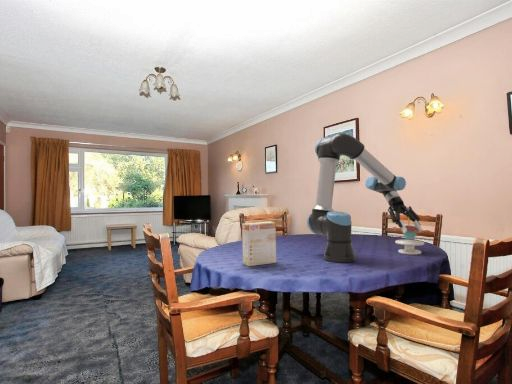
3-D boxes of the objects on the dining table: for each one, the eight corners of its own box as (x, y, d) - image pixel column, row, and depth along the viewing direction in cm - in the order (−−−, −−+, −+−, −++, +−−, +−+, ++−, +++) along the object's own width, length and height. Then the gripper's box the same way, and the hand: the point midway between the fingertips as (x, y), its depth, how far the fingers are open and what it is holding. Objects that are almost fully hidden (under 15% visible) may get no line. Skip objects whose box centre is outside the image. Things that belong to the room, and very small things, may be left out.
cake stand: (396, 254, 160) (396, 243, 160) (394, 249, 173) (394, 239, 173) (426, 256, 154) (426, 244, 154) (422, 251, 167) (422, 240, 168)
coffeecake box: (269, 260, 150) (269, 221, 151) (276, 263, 144) (276, 222, 144) (242, 263, 144) (241, 222, 144) (248, 266, 138) (247, 224, 138)
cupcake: (417, 240, 158) (417, 217, 158) (399, 238, 162) (399, 216, 162) (418, 237, 165) (418, 216, 165) (401, 236, 170) (401, 215, 170)
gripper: (407, 204, 180) (427, 235, 164) (375, 205, 177) (392, 236, 161) (413, 195, 175) (434, 226, 159) (380, 196, 172) (398, 227, 156)
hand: (413, 231), depth 160 cm, fingers closed on cupcake, 8 cm apart
